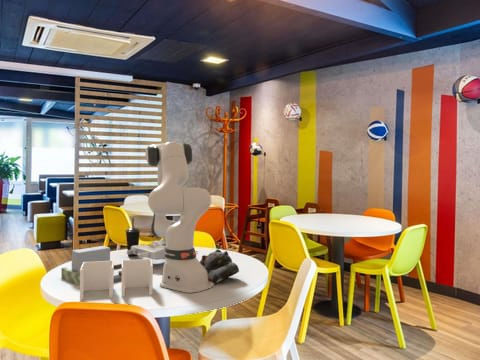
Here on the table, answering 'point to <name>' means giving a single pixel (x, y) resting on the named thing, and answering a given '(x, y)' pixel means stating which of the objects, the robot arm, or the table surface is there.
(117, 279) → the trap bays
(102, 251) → the slate block
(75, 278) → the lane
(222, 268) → the dark grey lumpy object
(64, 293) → the table surface
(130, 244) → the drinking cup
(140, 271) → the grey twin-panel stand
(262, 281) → the table surface
